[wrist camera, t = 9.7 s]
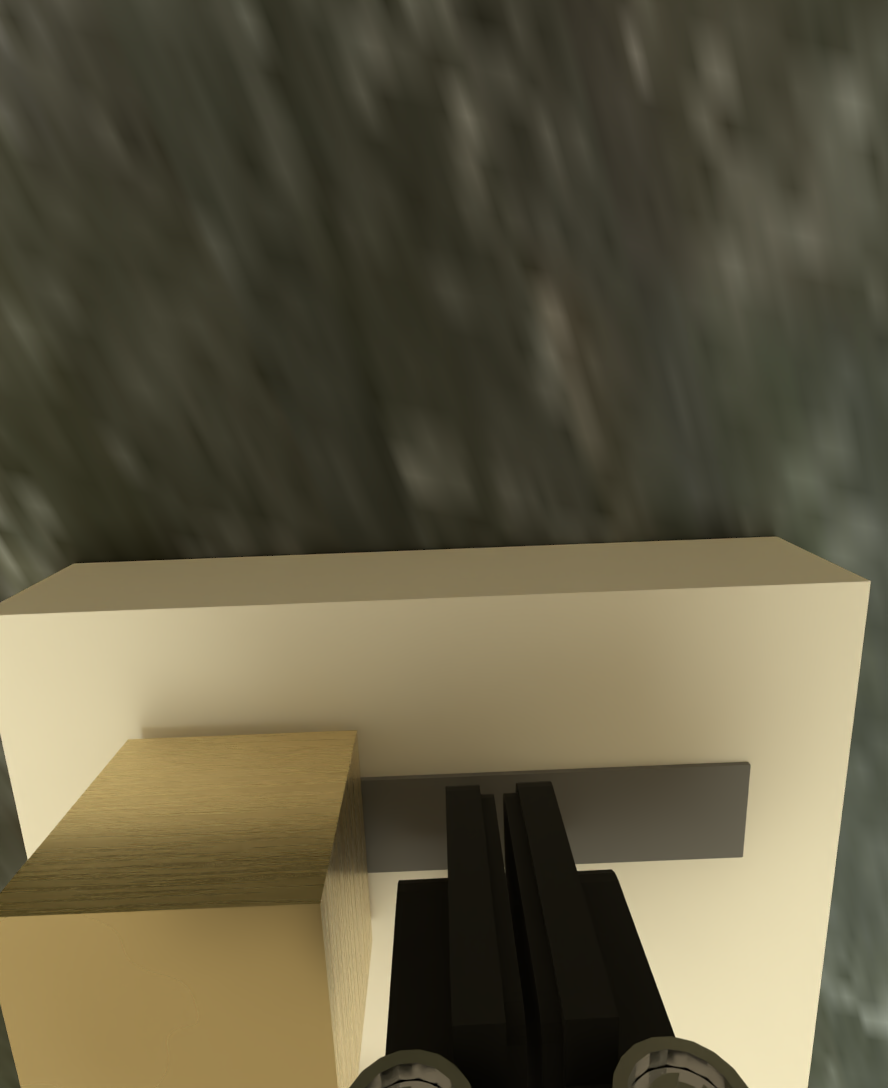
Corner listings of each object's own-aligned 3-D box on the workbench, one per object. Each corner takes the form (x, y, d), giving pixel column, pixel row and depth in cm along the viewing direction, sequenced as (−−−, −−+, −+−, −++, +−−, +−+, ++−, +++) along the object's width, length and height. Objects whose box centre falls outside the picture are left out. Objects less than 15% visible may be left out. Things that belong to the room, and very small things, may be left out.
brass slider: (357, 730, 11) (320, 903, 7) (372, 939, 12) (346, 1181, 8) (128, 739, 11) (-21, 917, 7) (163, 948, 12) (47, 1195, 8)
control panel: (776, 536, 14) (875, 583, 11) (709, 1301, 19) (761, 1476, 16) (73, 563, 13) (-30, 617, 10) (208, 1324, 19) (165, 1504, 16)
